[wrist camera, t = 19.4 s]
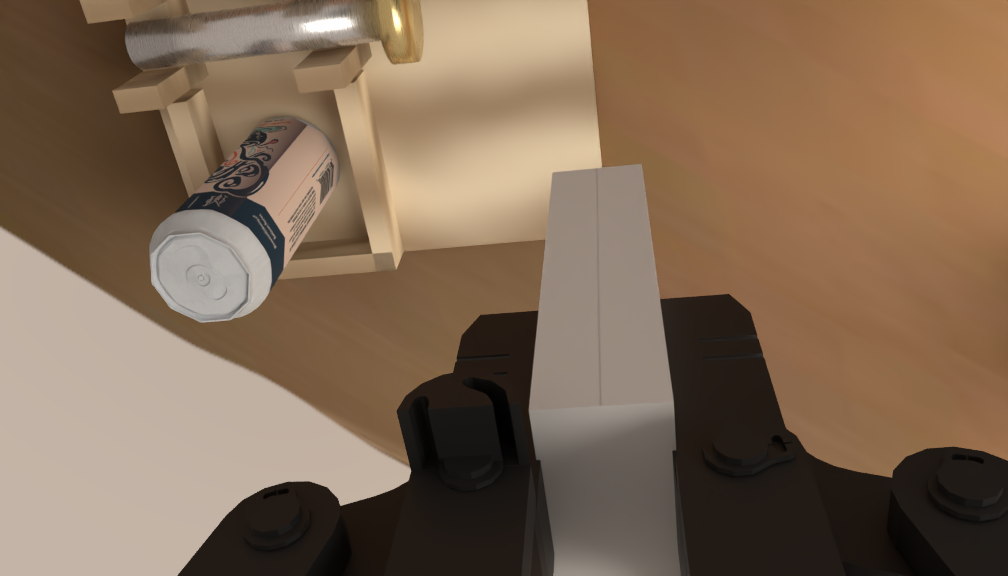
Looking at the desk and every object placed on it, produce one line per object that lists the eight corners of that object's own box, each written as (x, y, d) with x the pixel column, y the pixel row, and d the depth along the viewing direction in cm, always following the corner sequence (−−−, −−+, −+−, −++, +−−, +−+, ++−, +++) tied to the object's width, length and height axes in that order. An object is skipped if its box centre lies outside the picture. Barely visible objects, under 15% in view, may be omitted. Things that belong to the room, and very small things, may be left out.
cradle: (112, -50, 39) (45, -28, 35) (576, -116, 36) (574, -102, 32) (216, 262, 47) (173, 316, 42) (607, 228, 44) (609, 282, 39)
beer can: (287, 92, 41) (185, 195, 31) (362, 162, 43) (288, 283, 32) (228, 156, 43) (113, 273, 33) (301, 221, 45) (214, 353, 34)
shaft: (143, -12, 38) (98, 8, 35) (411, -48, 36) (392, -31, 33) (172, 78, 40) (133, 106, 37) (428, 47, 38) (412, 73, 35)
